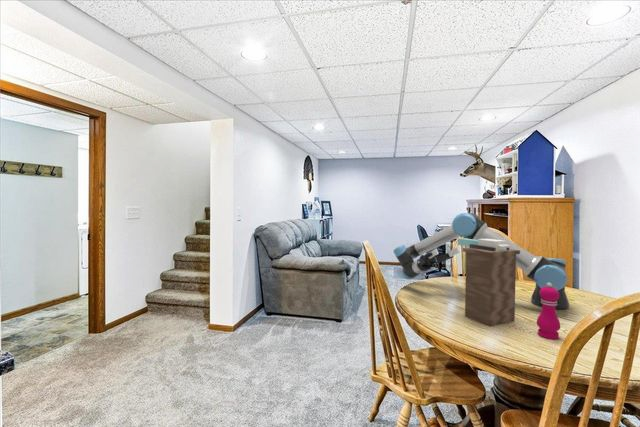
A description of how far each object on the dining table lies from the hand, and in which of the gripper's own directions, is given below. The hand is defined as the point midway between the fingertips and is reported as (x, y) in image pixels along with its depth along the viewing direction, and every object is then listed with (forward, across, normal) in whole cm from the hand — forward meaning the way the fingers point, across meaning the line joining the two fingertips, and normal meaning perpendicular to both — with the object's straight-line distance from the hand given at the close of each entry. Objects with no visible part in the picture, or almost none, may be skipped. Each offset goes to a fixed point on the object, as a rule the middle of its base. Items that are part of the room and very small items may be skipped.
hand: (447, 250), depth 157 cm
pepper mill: (+26, -5, -45) cm, 53 cm away
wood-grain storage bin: (+8, 0, -35) cm, 36 cm away
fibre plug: (+19, 0, -7) cm, 21 cm away
